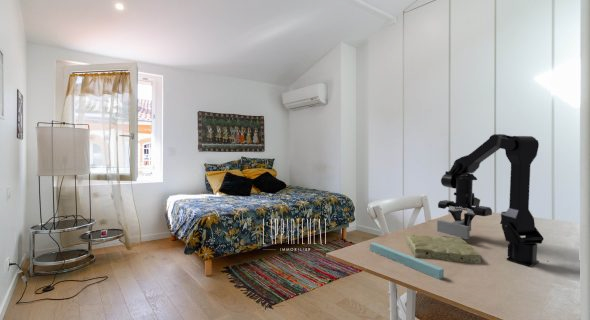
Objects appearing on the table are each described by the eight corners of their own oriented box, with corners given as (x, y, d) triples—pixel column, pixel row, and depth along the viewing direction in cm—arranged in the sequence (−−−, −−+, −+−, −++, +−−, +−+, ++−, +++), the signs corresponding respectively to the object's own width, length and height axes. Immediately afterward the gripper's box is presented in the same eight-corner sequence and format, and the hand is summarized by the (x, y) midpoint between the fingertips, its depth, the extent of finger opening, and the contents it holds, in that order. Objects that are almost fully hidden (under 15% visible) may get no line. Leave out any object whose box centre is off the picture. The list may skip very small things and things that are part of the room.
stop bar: (443, 277, 82) (443, 268, 82) (439, 279, 81) (439, 270, 81) (373, 249, 104) (374, 242, 104) (369, 250, 103) (369, 243, 103)
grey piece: (483, 233, 116) (483, 222, 115) (467, 239, 110) (467, 227, 109) (453, 226, 126) (453, 216, 126) (437, 231, 120) (437, 220, 120)
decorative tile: (405, 242, 114) (405, 233, 114) (461, 245, 110) (462, 236, 110) (414, 260, 96) (414, 249, 95) (482, 265, 91) (483, 254, 91)
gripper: (499, 191, 114) (498, 231, 115) (453, 186, 130) (452, 221, 131) (484, 194, 108) (483, 236, 109) (437, 188, 124) (436, 224, 125)
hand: (462, 228), depth 119 cm, fingers closed on grey piece, 2 cm apart
